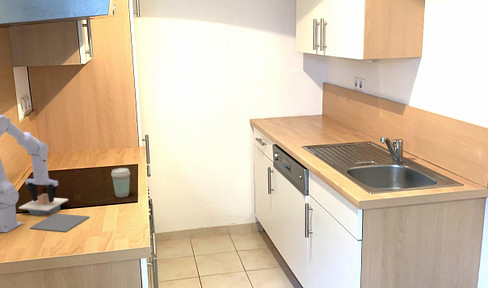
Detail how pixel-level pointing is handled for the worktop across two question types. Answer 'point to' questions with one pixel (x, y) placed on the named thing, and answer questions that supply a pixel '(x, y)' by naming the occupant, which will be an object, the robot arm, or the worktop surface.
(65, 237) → the worktop surface
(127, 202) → the worktop surface
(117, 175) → the coffee cup
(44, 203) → the lid
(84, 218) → the mat
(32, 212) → the dish
